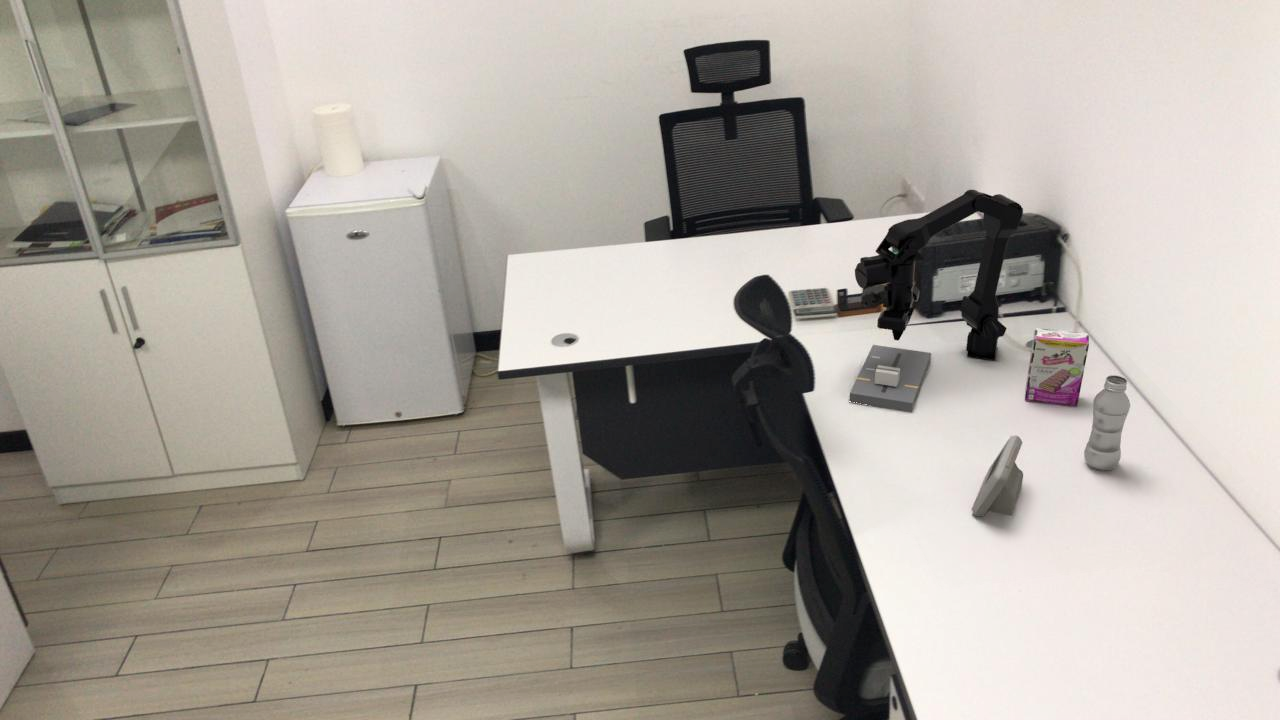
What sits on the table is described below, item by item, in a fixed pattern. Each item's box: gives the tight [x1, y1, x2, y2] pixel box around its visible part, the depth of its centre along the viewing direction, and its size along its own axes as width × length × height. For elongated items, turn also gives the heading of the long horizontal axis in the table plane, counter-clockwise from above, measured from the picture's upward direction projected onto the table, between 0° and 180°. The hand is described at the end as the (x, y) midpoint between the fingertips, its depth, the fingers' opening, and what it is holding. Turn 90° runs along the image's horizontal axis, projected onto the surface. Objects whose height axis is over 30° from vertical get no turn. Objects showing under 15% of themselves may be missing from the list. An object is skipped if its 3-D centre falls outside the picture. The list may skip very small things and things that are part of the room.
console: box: [848, 344, 932, 413], centre depth 234 cm, size 14×24×2 cm, turn 156°
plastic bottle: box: [1083, 374, 1131, 471], centre depth 197 cm, size 6×7×20 cm
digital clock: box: [971, 435, 1024, 517], centre depth 192 cm, size 16×9×11 cm, turn 138°
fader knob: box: [875, 365, 900, 387], centre depth 229 cm, size 5×3×3 cm, turn 66°
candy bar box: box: [1024, 327, 1090, 407], centre depth 220 cm, size 11×5×16 cm, turn 71°
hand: (896, 339), depth 234 cm, fingers closed
